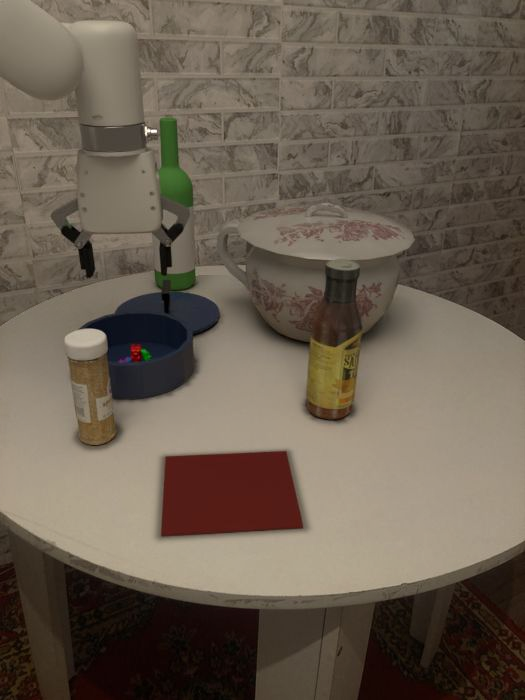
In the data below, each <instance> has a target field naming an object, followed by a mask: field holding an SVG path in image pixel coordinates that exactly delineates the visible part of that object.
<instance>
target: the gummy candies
mask: <svg viewBox="0 0 525 700" xmlns="http://www.w3.org/2000/svg"><path fill="white" fill-rule="evenodd" d="M141 354H142V355H141ZM149 355H150V354H149V353H148V352H147V351H146V350H145V349H143V350H142V349H141V345H140V344H137V346H135V344H132V345H131V358H130V357H126V359H124V360H122V359H120V360H119V361H118V362H141V361H142V357H143V359H144V361H146V360H150V358H151V356H149Z"/></svg>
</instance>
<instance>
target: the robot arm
mask: <svg viewBox="0 0 525 700" xmlns="http://www.w3.org/2000/svg"><path fill="white" fill-rule="evenodd" d="M0 78H1V79H3V80H5V81H6V82H7V83H9V84H10V85H11V86H12V87H14V88H16V89H18V90H19V91H21V92H23V93H24V94H26V95H27V96H29V97H31V98H34V99H37V100H41V101H46V102H47V101H48V102H52V101H59V100H61V99H64V98H66V97H68V96H69V95H71V94H72V93H73V92H74V94H75V102H76V109H77V110H76V111H77V117H78V124H79V132H80V139H81V145H82V146H81V148H79V149H78V150H77V153H76V194H77V195H76V196H77V197H76V198H73V199H72V200H70V201H68V202H67V203H65V204H62V205H61V206H59V207H58V208H56V209H54V210H53V211H52V212H51V213H50V218H51V220H52V221H53V223H54V224H55V226H56V227H57V228H58V230H59V231H60V233H61V235H62V236H63V237H64V238H66V239H67V240H68V241H69V242H71V243H72V244H73V246H74V247H75V248H76V249H77V251H78V257H79V265H80V270H82V271H83V270H85V271H84V272H85V276H86V278H87V279H91V278H92V277H94V274H95V271H96V263H95V257H94V255H95V254H94V249H93V243H92V242H91V241H90V238H91V237H92V236H93V235H129V234H130V235H131V234H132V235H134V234H150V233H151V234H152V233H153V234H154V236H155V237H156V238H157V239H158V240H159V241H160V246H159V253H160V266H161V275H163V276H167V267H172V255H171V245H172V243H173V241H174V240H175V239H176V238H177V237H178V236H179V235H180V234H181V233H182V232H183V229H184V227H185V225H186V223H187V221H188V219H189V217H190V214H191V212H190V209H189V208H187V207H185V206H183V205H181V204H179V203H177V202H175V201H173V200H171V199H168V198H166V197H164V196H162V195H161V187H160V180H159V173H158V170H159V167H158V163H157V158H156V154H155V152H154V149H153V148H152V147H150V146H147V144H149V142H152V141H158V140H159V135H158V134H159V133H158V127H154V128H153V127H151V126H149V125H147V124H146V121H145V112H144V111H145V110H144V109H145V108H144V97H143V86H142V85H143V84H142V75H141V61H140V50H139V40H138V34H137V31H136V29H135V27H134V26H133V25H132V24H130V23H129V22H126V21H122V20H107V19H106V20H101V19H100V20H99V19H98V20H97V19H94V20H93V19H91V20H77V21H75V22H73V23H71V22H60V21H59V20H58V19H57V18H55V17H54V16H52V14H50V13H49V12H47V11H46V10H44V8H42V7H41V6H39V5H37V4H36V3H35V2H33V1H32V0H0ZM163 209H164V210H167V211H169V212H171V213H173V214H175V215H177V217H178V218H177V220H176V222H175V223H174V224H173V226H172V227H171V228H170V229H169V230H168V229H167V228H166V227H165V226H164V224H163V223H162V222H161V220H162V219H163ZM76 212H78V217H79V223H80V228H81V231H80V230H79V229H77V228H76V227H75V226H74V225H72V224H71V223H70V222H69V220H68V218H67V217H68V216H70V215H72V214H74V213H76Z"/></svg>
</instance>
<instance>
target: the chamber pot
mask: <svg viewBox="0 0 525 700" xmlns="http://www.w3.org/2000/svg"><path fill="white" fill-rule="evenodd" d="M231 234H238V235H239V237H240V239H242V240H243V241H245V242H246V245H245V253H246V256H245V270H244V269H242V268H241V267H240V266H239V265H238V264H237V263H236V261H235V260H234V259H233V257H232V256H231V254H230V252H229V248H228V239H229V235H231ZM415 241H416V239H415V237H414V233H413V231H412V230H411V229H410V228H409V227H408V226H406V225H405V224H403V223H402V222H400V221H399V220H396V219H394V218H391V217H388V216H385V215H383V214H379V213H377V212H372V211H369V210H364V209H360V208H355V207H348V206H341V205H337V204H335V203H330V202H321V203H317V204H295V205H287V206H277V207H274V208H269V209H265V210H261V211H256V212H254V213H251V214H250V215H248V216H246V217H244V218H242V219H241V220H240V221H239V219H235V218H232V219H231V220H230V221H227V222H225V224H223V226H222V227H221V228H220V230H219V232H218V234H217V236H216V246H215V247H216V252H217V256H218V259H219V260H220V262H221V263H222V265H223V266H224V267H225V269H226V270H227V271H228V272H229V274H231V275H232V276H233V277H234V278H235V279H236V280H238V282H240V283H241V285H243V286H244V287H245V289H246V290H247V291H248V292H249V296H250V297H251V300H252V302H253V304H254V305H255V307H256V309H257V311H258V312H259V314H260V315H261V317H262V319H263V320H264V321H265V323H266V324H267V325H268V326H269V327H270V328H272V329H273V330H274V331H275V332H276V333H278V334H281V336H285V337H287V338H289V339H293V340H296V341H301V342H305V343H310V339H311V333H312V326H313V317H314V313H315V311H316V309H317V307H318V306H319V305H320V304H321V303H322V301H323V300H324V299H325V298H324V292H325V285H326V275H325V266H326V263H327V262H328V261H331V260H339V259H342V260H350V261H353V262H356V263H357V264H359V265H360V275H359V278H358V279H357V287H356V304H357V308H358V312H359V316H360V320H361V323H362V327H363V328H362V335H365V334H367V332H369V331H370V330H371V329H372V328H373V327H374V326H375V325H376V323H377V322H378V321H379V320H380V319H381V318H382V317H383V315H384V314H385V313H386V311H387V310H388V309H389V307H390V306H391V304H392V302H393V299H394V296H395V293H396V291H397V288H398V285H399V282H400V274H401V265H400V260H399V257H398V255H397V254H399V253H402V252H404V251H407V250H408V249H410V247H411V246H412V244H414V242H415Z"/></svg>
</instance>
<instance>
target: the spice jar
mask: <svg viewBox="0 0 525 700" xmlns="http://www.w3.org/2000/svg"><path fill="white" fill-rule="evenodd" d="M63 344H64V351H65V355H66V358H67V360H68V361H67V362H68V367H69V374H70V377H69V378H70V386H71V391H72V399H73V405H74V412H75V416H76V420H77V426H78V427H77V428H78V432H77V433H78V439H79V440H80V441H81V443H83V444H86V445H90V446H99V445H104V444H107V443H108V442H110V441H111V440H113V439H114V438H115V436H116V434H117V432H118V431H117V426H116V422H115V415H114V411H115V410H114V400H113V398H112V391H111V383H110V376H109V369H108V361H107V350H108V345H107V337H106V334H105V333H104V332H102V331H100V330H97V329H80V330H78V329H76V330H74V331H71V332H69V333H68V334H67V335H66V336H65V337H64V340H63Z"/></svg>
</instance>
